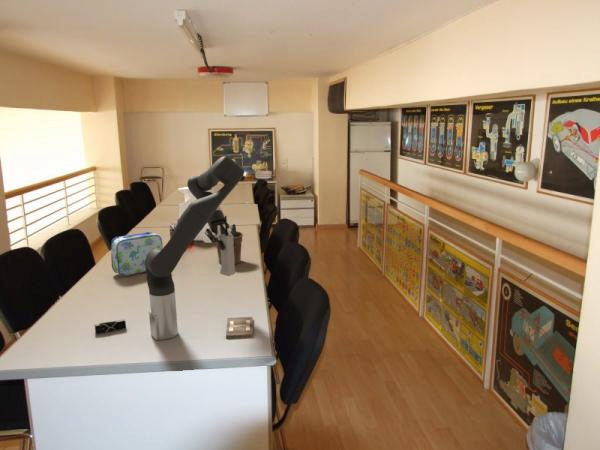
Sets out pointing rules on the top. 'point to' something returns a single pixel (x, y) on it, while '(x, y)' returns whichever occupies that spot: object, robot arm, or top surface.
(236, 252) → the plant pot
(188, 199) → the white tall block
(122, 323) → the graphics card
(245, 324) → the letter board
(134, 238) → the lunch box
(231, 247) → the vintage mobile phone
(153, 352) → the top surface
